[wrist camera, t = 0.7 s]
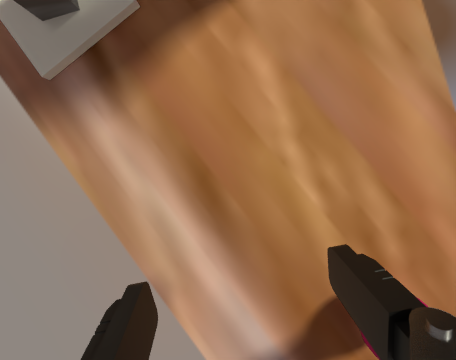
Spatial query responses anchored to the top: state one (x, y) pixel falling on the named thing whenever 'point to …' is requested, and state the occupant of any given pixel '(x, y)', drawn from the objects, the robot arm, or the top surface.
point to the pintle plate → (63, 31)
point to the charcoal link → (49, 7)
